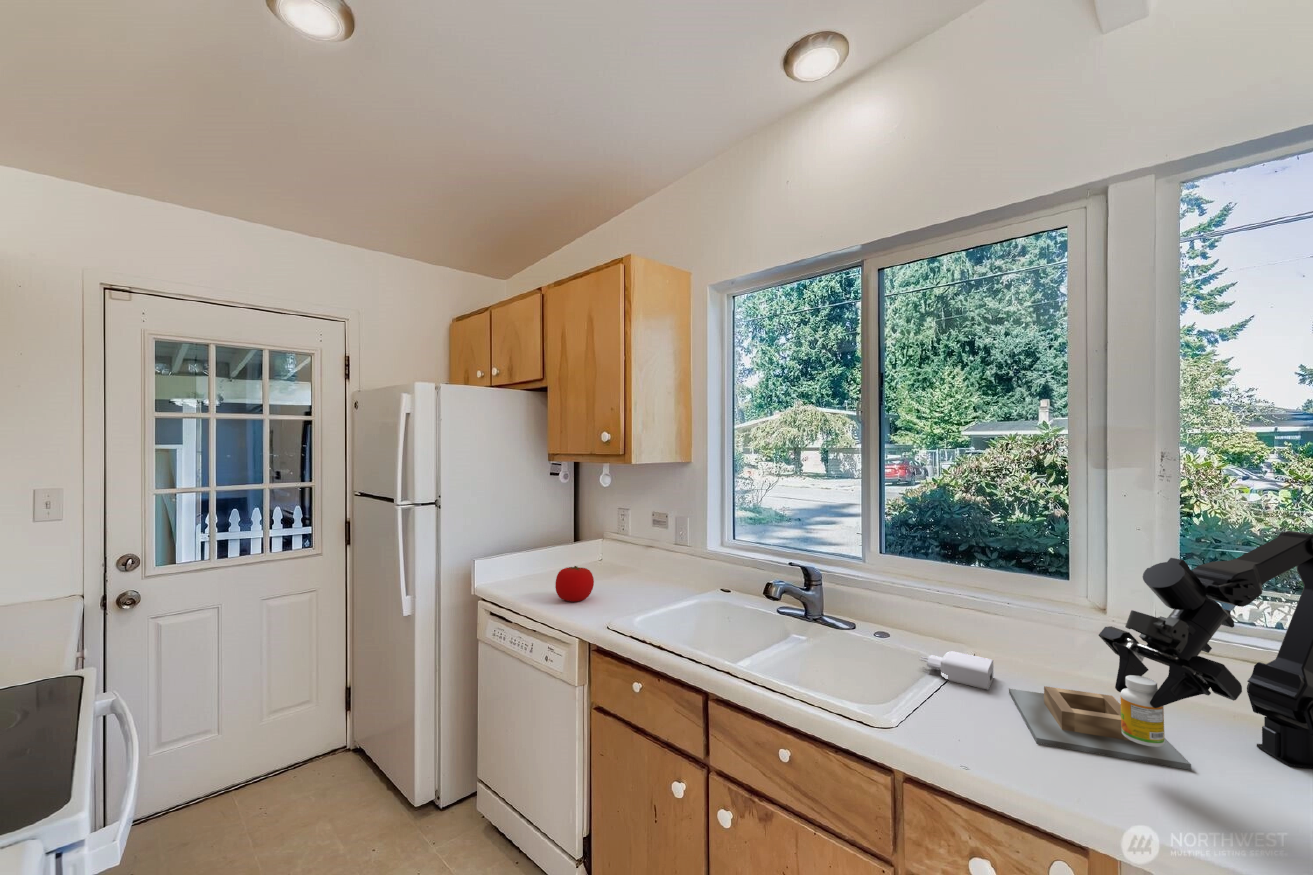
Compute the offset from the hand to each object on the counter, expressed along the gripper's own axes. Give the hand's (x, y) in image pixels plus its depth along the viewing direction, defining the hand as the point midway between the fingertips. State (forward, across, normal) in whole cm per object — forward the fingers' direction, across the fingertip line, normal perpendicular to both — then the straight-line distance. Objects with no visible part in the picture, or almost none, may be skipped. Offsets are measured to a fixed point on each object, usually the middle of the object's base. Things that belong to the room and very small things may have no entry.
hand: (1134, 697), depth 91 cm
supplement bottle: (+4, 0, +6) cm, 7 cm away
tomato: (+73, -116, -56) cm, 148 cm away
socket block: (+4, -15, +14) cm, 21 cm away
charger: (+11, -40, +8) cm, 42 cm away
